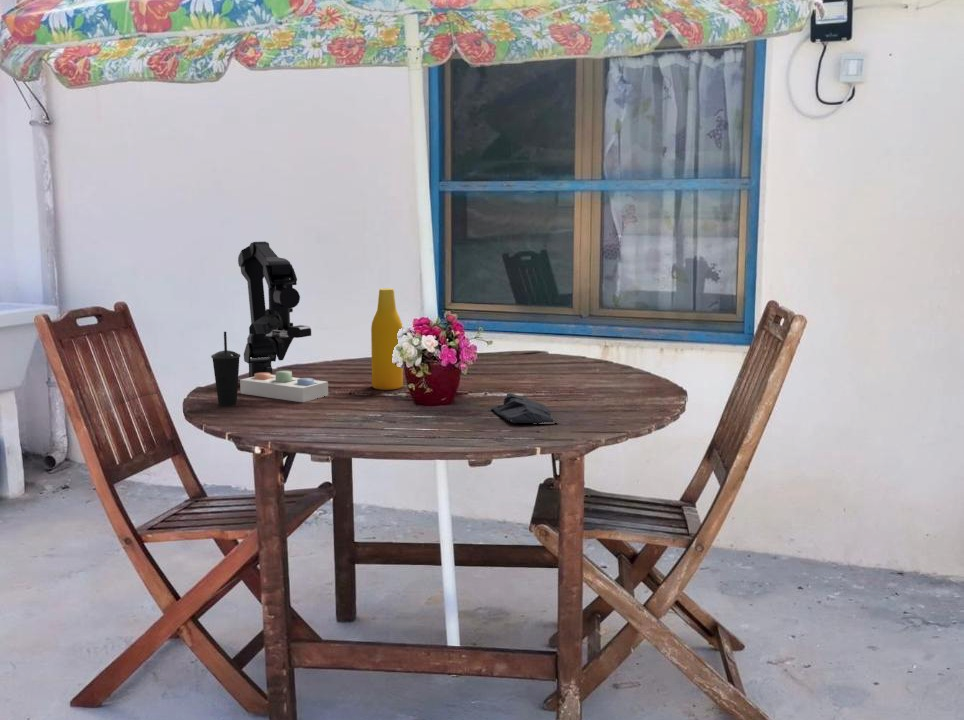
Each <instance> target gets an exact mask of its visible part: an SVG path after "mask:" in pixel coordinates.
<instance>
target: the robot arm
mask: <svg viewBox="0 0 964 720" xmlns="http://www.w3.org/2000/svg"><path fill="white" fill-rule="evenodd" d="M237 256H238V257H237V263H238V266H239V268H240V274H241V275H242V276H243V277H244V279H245V280H246V281H247V291H248V300H249V303H248V304H249V310H250V311H249V313H250V314H249V315H250V326H249V327H248V333H249V334H248V335H247V338H246V344H245V348H244V352H243V361H244V362H245V363H247V364H248V373H249V374H248V378H250V377H254V374H255V373H262V372H265V373H271V374H272V375H273V366H272V362H273V363H274V362H276V361H277V359H278V361H283V360H284V359H285V356H286V355H287V352H288V350H289V348H290V345H291V344H292V342H293V340H294V339H296V338H297V339H299V338H305V337H311V336H312V328H311V327H310V326H309V325H294V322H291V315H290V313H294V311H293V310H294V309H293V308H295V307H297V306H298V305H299V303H300V300H301V296H300V293H299V291H298V290H297V289H296V288H295V287H294V288H293V286H297V285H298V283H297V281H298V278H297V274H296V272H295V268H293V265H292V263H291V262H290V261H289V260H288V259H286V258H283V257H279V256H278V255H277V254H276V253H275V251H274V250H273V249H272V248H271V247H270V244H269V242H268V241H252V242H250V244H249V245H248V246H247V247H245V248H242V249H241V250H240V253H239V254H238V255H237ZM264 280H265V282H266V284H267V288H268V308H266V299H265V288H264V287H265V286H264Z"/></svg>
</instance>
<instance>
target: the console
mask: <svg viewBox="0 0 964 720" xmlns="http://www.w3.org/2000/svg"><path fill="white" fill-rule="evenodd" d="M300 378H301V377H294V376H292V382H287V383H280V382H276V375H275V374H273V373H272V374H271V379H267V380H258V379H254V377H250V378H249V377H246V378H242V379H239V385H240V390H239V391H240V394H241V395H248V396H255V397H262V398H263V397H264V398H268V399H269V398H271V399H277V400H283V401H290V402H291V401H292V402H298V403H306V402H309V401H314V400H317V398H318V399H321V398H324V396H325V397H329V382H328V381H325V380H318V379H314V384H313V385H309V386H302V385H297V379H300Z"/></svg>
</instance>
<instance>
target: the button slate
mask: <svg viewBox="0 0 964 720" xmlns="http://www.w3.org/2000/svg"><path fill="white" fill-rule="evenodd" d="M299 378H300V379H297V385H302V386H309V385H313V384H314V380H315V378H312V377H302V378H301V377H299Z"/></svg>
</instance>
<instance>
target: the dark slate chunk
mask: <svg viewBox="0 0 964 720" xmlns="http://www.w3.org/2000/svg"><path fill="white" fill-rule="evenodd" d="M490 409H491V410H492V411H493V410H494V413H495V414H496V415H498V416H499V417H502V418H503V419H506V420H508V421H507V422H509V421H510V422H509V423H511V422H512V423H511V424H514V423H515V424H514V425H517V424H516V423H542V422H543V423H544V422H553V421H555V420H553V418H551V416H550V415H551V413H552V412H551V411H550V409H549V408H548V407H547V406H546V405H545V404H543V403H539V402H536V401H535V400H532V399H531V398H529V397H528V398H527V397H525V396H522V395H518V394H514V393H512V392H510V393H507V394H506V396H505V397H504V399H503V404H498V405H494V406H491V407H490ZM550 412H551V413H550Z"/></svg>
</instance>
